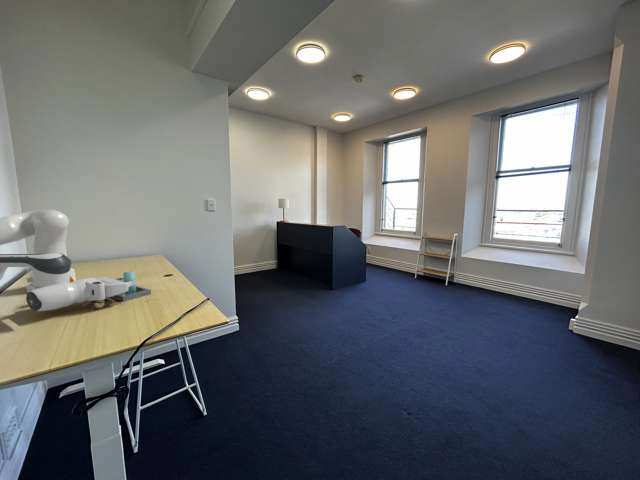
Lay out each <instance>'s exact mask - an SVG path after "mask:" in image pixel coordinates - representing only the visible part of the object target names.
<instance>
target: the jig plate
mask: <svg viewBox="0 0 640 480" xmlns="http://www.w3.org/2000/svg"><path fill="white" fill-rule="evenodd" d="M97 301H98V300H92V301H87V302H82V303H80V306H83V307H86V308H89V309H90V310H92V311H99V310H101V309H98V310H96V309H95V305H94V302H97ZM100 301H104V302H105V308H104V309H106V308H111V307H113V306H118V305H120V304H121V305H122V301H119V300H118V301H117V300H116V299H114V298H111V297H106V299H104V300H100Z"/></svg>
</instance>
